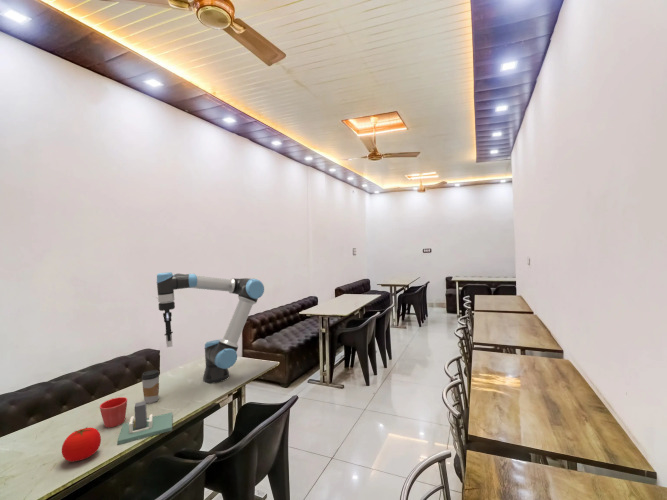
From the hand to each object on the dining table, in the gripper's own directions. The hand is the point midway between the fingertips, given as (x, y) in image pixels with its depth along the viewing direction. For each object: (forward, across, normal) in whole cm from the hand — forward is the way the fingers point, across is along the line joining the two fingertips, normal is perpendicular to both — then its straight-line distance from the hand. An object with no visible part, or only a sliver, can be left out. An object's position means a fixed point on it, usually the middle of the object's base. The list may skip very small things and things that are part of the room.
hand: (169, 346), depth 169 cm
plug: (+27, +24, -13) cm, 38 cm away
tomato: (+28, +34, -32) cm, 55 cm away
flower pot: (+29, +10, -25) cm, 39 cm away
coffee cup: (+29, -7, -10) cm, 31 cm away
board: (+28, +24, -11) cm, 39 cm away
